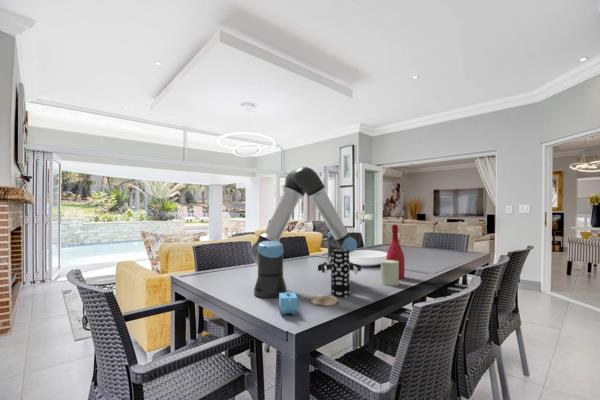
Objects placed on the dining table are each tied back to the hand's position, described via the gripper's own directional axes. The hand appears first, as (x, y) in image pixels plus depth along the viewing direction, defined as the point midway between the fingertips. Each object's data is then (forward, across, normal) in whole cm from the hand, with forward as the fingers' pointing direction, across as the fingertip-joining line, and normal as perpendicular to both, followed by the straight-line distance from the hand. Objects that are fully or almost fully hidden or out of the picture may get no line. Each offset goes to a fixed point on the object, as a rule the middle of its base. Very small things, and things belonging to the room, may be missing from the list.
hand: (341, 271), depth 133 cm
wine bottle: (-37, -35, -11) cm, 52 cm away
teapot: (+22, +22, -11) cm, 34 cm away
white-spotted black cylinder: (-3, 0, -11) cm, 11 cm away
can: (-23, -28, -11) cm, 38 cm away
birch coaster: (+8, +8, -11) cm, 16 cm away
